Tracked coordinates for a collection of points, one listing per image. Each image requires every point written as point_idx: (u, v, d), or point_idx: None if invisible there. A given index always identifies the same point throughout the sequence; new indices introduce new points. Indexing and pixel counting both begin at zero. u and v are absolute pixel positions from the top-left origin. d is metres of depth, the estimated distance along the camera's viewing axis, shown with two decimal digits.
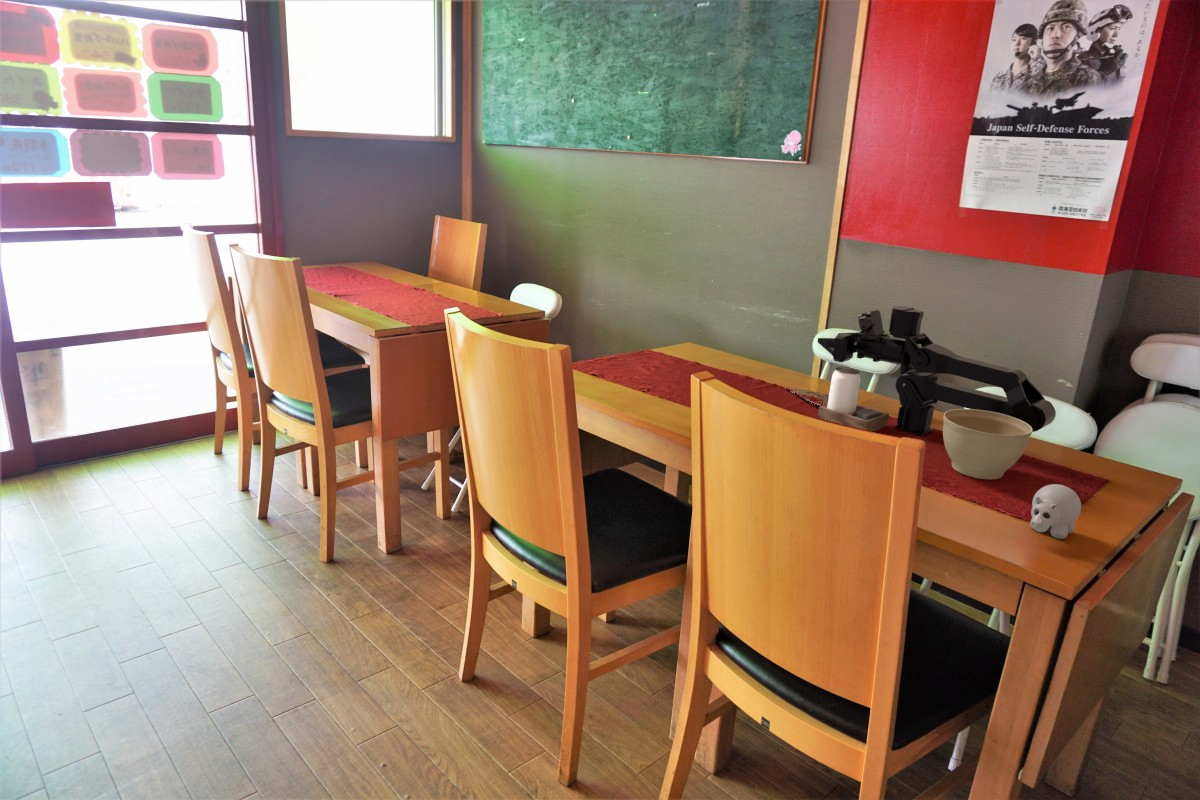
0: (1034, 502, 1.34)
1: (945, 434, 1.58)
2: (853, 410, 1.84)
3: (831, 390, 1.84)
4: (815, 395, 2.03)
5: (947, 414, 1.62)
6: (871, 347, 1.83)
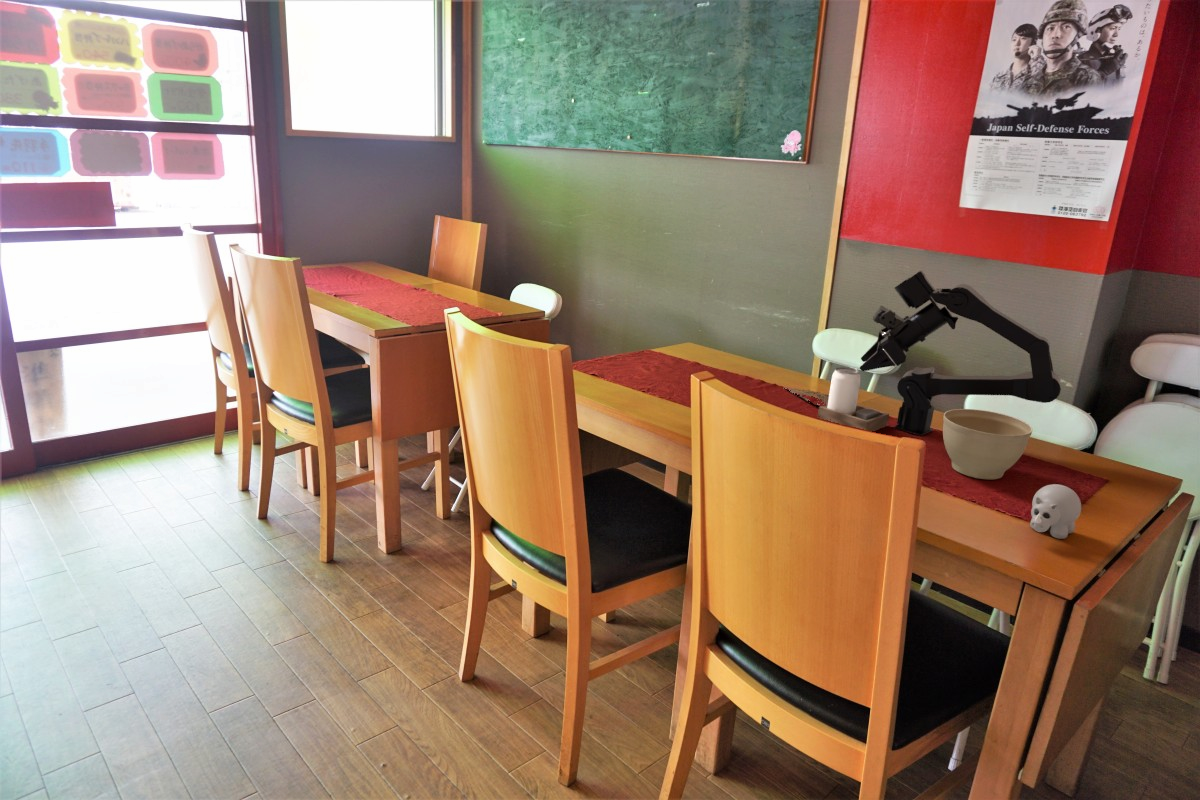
0: (1034, 502, 1.34)
1: (945, 434, 1.58)
2: (853, 410, 1.84)
3: (831, 390, 1.84)
4: (815, 395, 2.03)
5: (947, 414, 1.62)
6: (910, 331, 1.74)
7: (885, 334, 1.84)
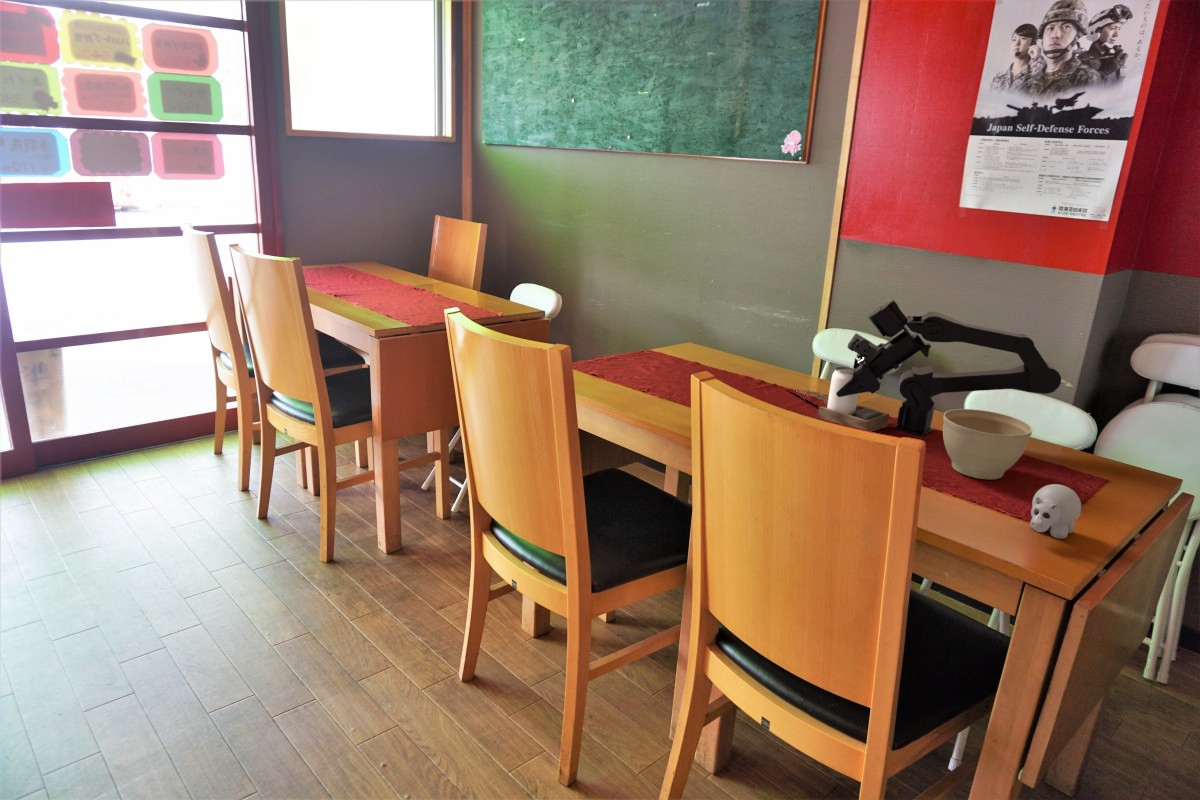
0: (1034, 502, 1.34)
1: (945, 434, 1.58)
2: (853, 410, 1.84)
3: (831, 390, 1.84)
4: (815, 395, 2.03)
5: (947, 414, 1.62)
6: (884, 359, 1.77)
7: None
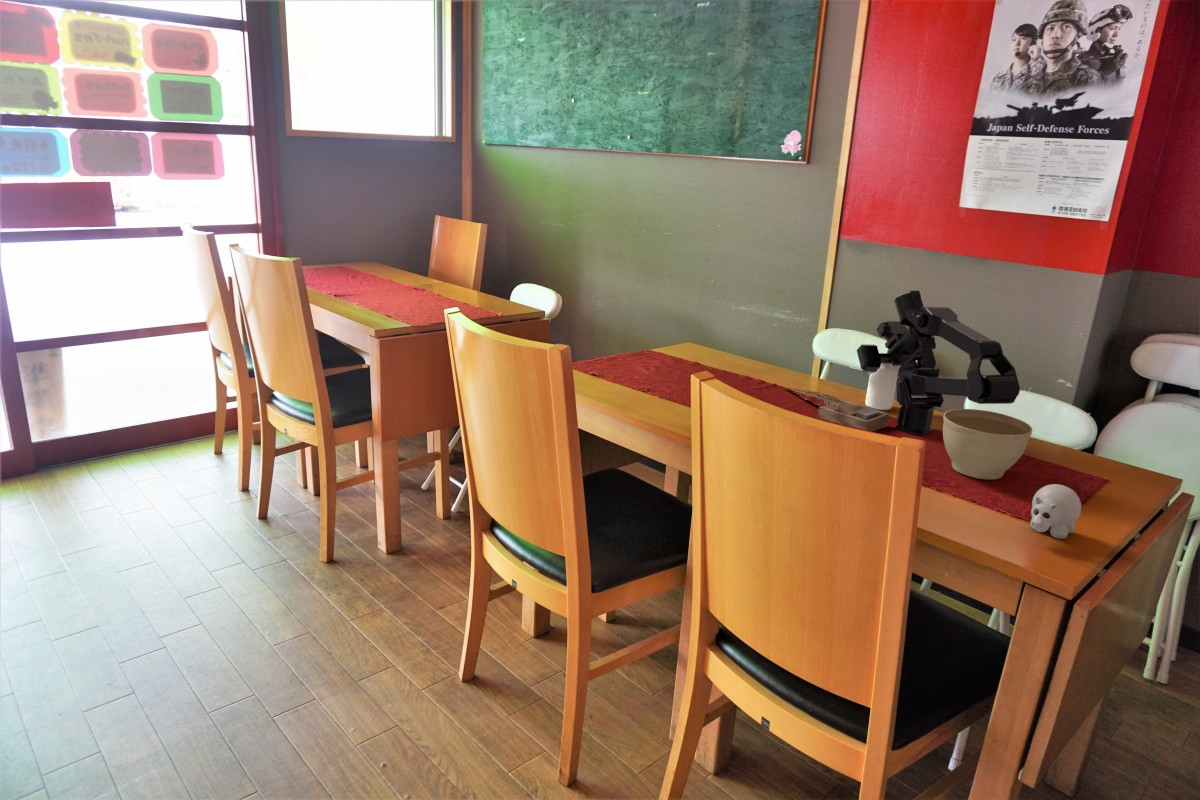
0: (1034, 502, 1.34)
1: (945, 434, 1.58)
2: (879, 398, 1.94)
3: None
4: (815, 395, 2.03)
5: (947, 414, 1.62)
6: (895, 345, 1.85)
7: None
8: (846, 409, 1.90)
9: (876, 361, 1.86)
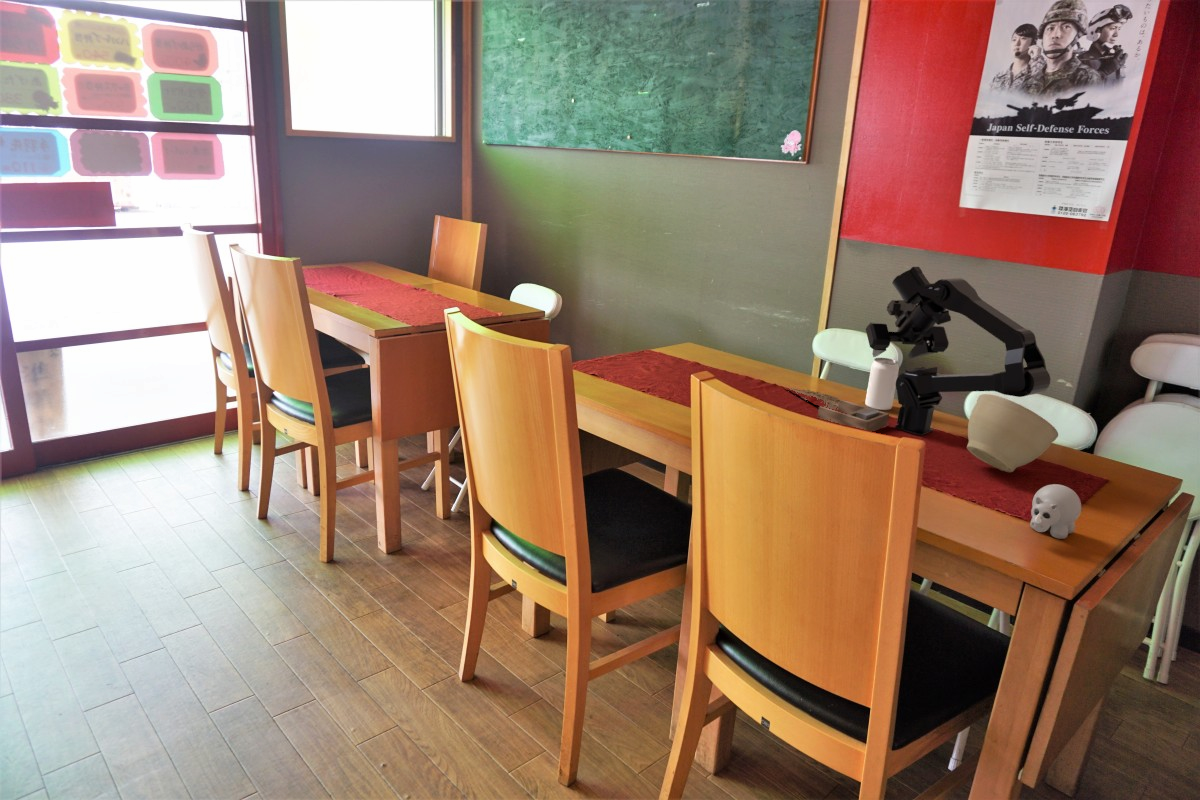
0: (1034, 502, 1.34)
1: (983, 409, 1.56)
2: (879, 398, 1.94)
3: None
4: (815, 395, 2.03)
5: None
6: (904, 323, 1.80)
7: None
8: (846, 409, 1.90)
9: (885, 339, 1.81)
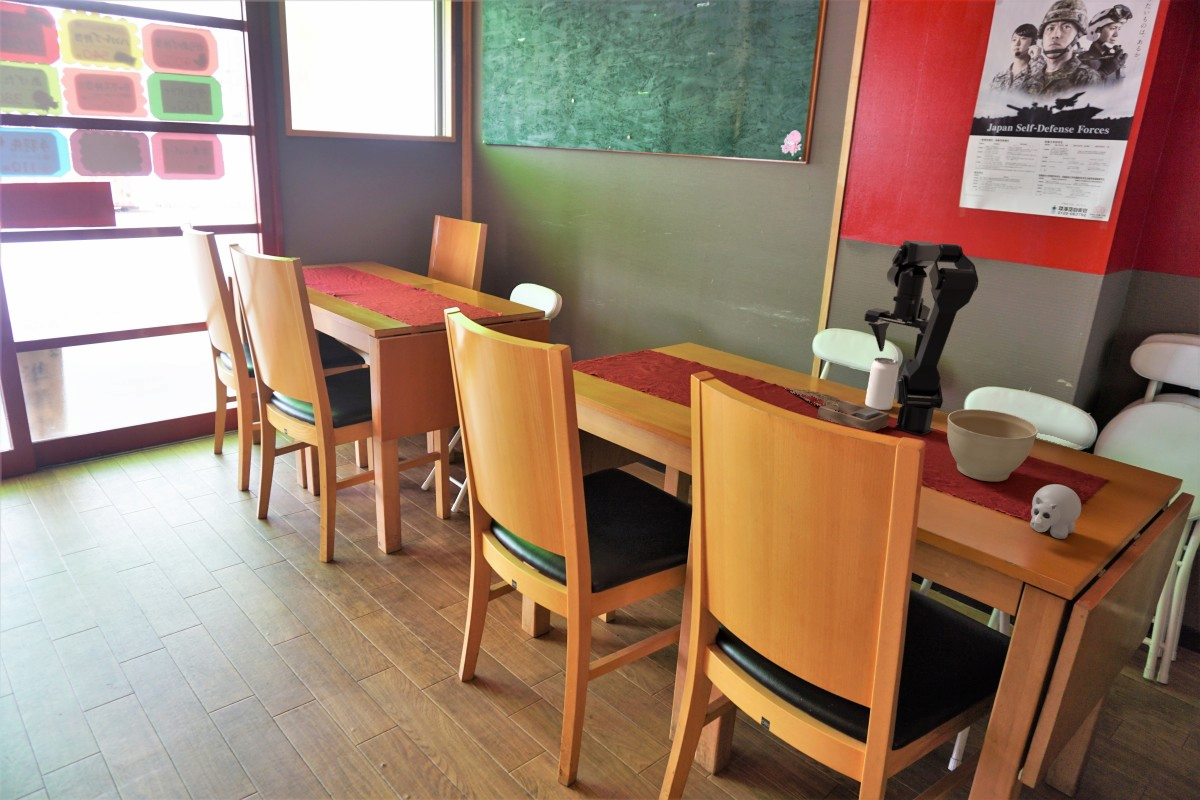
0: (1034, 502, 1.34)
1: (949, 437, 1.56)
2: (879, 398, 1.94)
3: None
4: (815, 395, 2.03)
5: (951, 416, 1.60)
6: None
7: None
8: (846, 409, 1.90)
9: (876, 311, 1.96)
